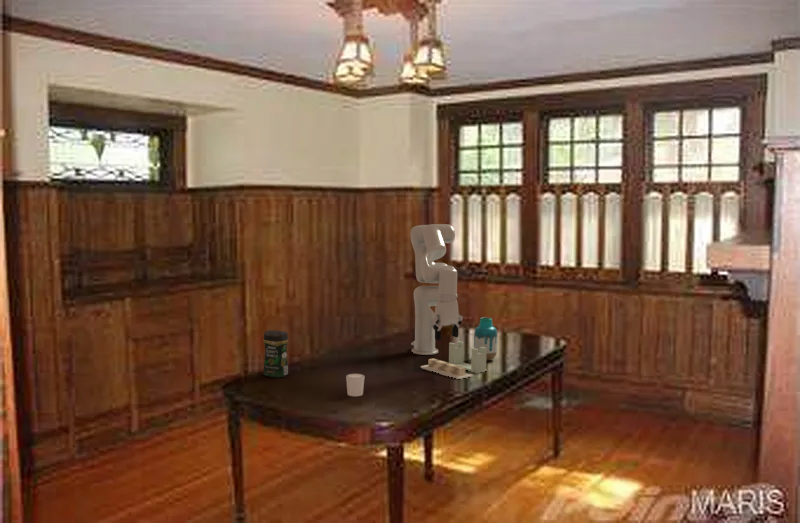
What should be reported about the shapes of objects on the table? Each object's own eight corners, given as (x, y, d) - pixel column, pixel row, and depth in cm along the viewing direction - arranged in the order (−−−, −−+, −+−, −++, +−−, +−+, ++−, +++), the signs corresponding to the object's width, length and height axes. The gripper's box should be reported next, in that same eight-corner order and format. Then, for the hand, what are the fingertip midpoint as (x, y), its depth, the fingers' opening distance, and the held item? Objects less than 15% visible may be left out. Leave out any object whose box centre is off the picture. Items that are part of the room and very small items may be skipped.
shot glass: (345, 391, 259) (345, 373, 258) (364, 391, 259) (364, 373, 259) (346, 396, 252) (346, 378, 251) (364, 396, 252) (364, 377, 252)
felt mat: (420, 367, 296) (420, 366, 296) (434, 365, 301) (434, 363, 301) (458, 379, 277) (459, 377, 277) (473, 376, 282) (473, 374, 282)
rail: (428, 366, 296) (428, 359, 296) (433, 365, 298) (433, 358, 297) (460, 375, 280) (460, 368, 280) (465, 374, 282) (465, 367, 282)
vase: (496, 363, 305) (497, 320, 303) (472, 362, 307) (473, 319, 306) (497, 358, 316) (498, 316, 314) (474, 356, 318) (475, 315, 316)
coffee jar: (260, 376, 279) (259, 331, 278) (271, 372, 286) (271, 327, 285) (280, 379, 275) (280, 333, 274) (291, 374, 282) (291, 330, 281)
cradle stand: (447, 365, 301) (448, 342, 301) (457, 363, 305) (458, 340, 304) (476, 373, 287) (477, 349, 286) (487, 371, 291) (487, 348, 290)
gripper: (456, 294, 294) (455, 333, 296) (425, 298, 284) (424, 339, 286) (468, 297, 289) (467, 337, 291) (437, 301, 278) (436, 342, 280)
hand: (446, 338), depth 288 cm, fingers open, 9 cm apart
